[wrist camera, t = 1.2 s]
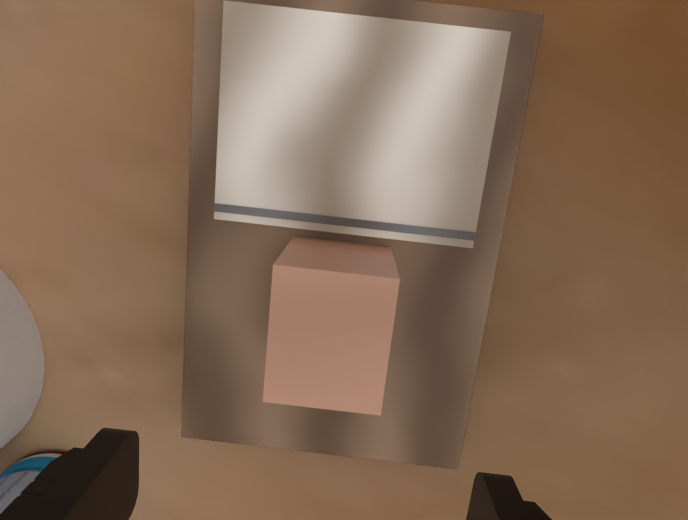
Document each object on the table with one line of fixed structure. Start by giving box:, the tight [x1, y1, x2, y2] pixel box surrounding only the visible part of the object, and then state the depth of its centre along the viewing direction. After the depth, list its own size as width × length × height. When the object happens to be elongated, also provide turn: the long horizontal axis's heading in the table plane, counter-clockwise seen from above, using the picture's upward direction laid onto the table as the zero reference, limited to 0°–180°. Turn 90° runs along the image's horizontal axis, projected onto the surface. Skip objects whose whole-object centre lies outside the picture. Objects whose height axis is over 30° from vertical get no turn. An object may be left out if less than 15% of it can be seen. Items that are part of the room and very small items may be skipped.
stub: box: [263, 236, 400, 416], centre depth 23 cm, size 5×6×6 cm
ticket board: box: [181, 0, 544, 469], centre depth 25 cm, size 16×24×2 cm, turn 174°
